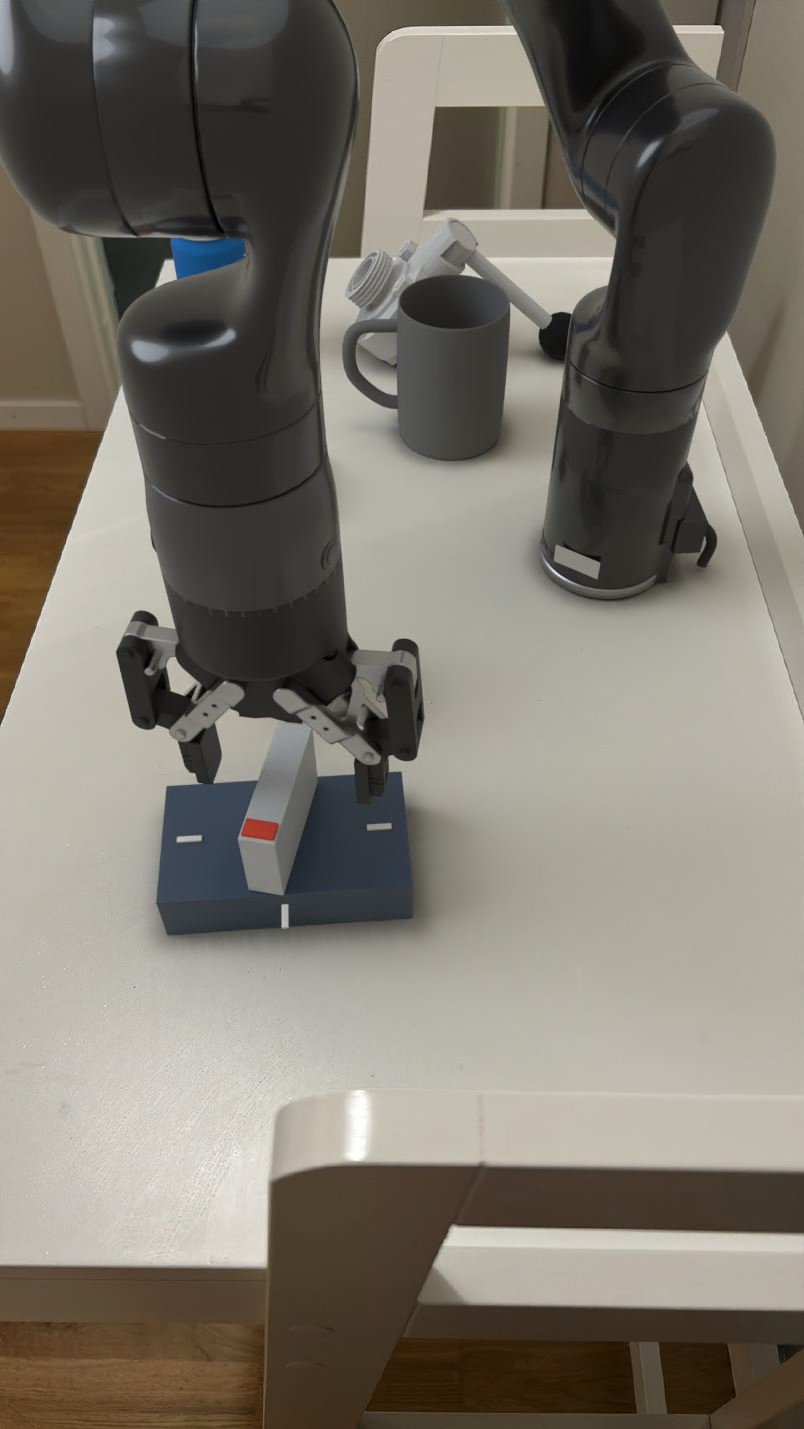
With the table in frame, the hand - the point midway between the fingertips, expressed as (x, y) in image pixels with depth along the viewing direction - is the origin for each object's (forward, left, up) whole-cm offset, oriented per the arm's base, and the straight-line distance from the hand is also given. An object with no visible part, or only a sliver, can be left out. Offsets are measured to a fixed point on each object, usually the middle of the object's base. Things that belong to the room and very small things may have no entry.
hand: (288, 780), depth 55 cm
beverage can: (+7, -59, -9) cm, 60 cm away
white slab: (+1, 0, -5) cm, 6 cm away
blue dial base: (+1, 0, -9) cm, 9 cm away
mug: (-11, -44, -9) cm, 47 cm away
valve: (-16, -57, -9) cm, 60 cm away
